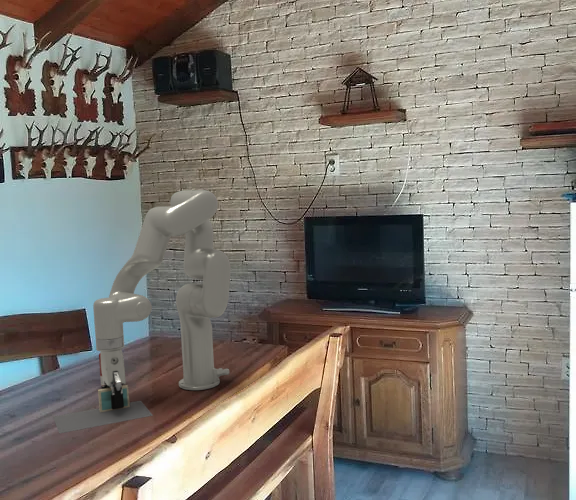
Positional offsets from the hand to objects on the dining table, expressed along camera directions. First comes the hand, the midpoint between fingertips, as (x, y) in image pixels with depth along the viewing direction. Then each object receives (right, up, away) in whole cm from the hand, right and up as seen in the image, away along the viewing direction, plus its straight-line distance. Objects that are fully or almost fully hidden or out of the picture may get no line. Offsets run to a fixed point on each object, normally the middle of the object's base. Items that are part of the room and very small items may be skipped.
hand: (114, 403), depth 182 cm
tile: (0, -2, 0) cm, 2 cm away
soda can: (-7, 0, +24) cm, 24 cm away
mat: (-2, -3, -5) cm, 6 cm away
